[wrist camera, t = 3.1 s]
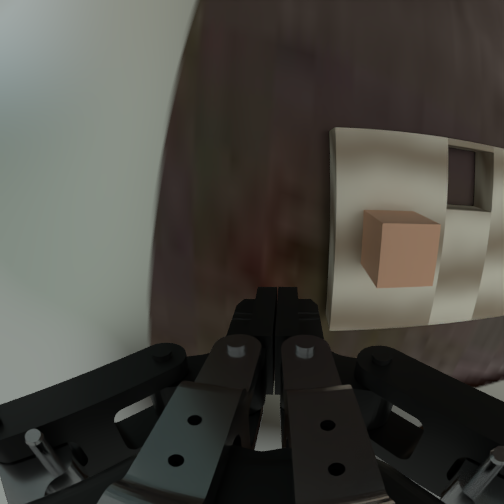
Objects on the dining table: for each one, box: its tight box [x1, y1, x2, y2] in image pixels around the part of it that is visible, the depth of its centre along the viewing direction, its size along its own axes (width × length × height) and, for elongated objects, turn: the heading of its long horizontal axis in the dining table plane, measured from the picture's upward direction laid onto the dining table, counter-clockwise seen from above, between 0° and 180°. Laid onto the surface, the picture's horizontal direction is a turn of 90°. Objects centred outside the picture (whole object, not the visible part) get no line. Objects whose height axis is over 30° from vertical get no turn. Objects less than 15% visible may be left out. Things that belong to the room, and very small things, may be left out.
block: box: [361, 210, 441, 288], centre depth 19 cm, size 4×4×4 cm
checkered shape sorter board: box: [326, 127, 504, 331], centre depth 19 cm, size 16×30×6 cm, turn 92°
